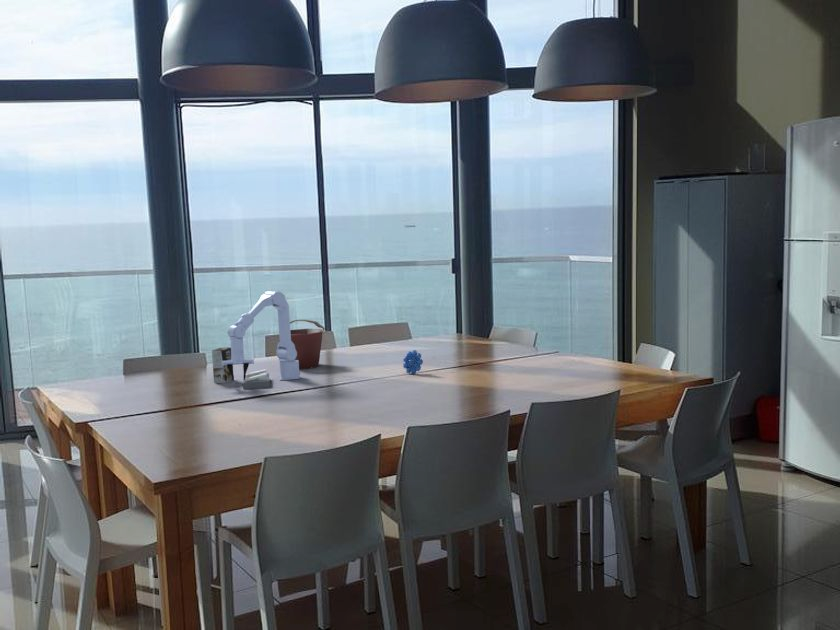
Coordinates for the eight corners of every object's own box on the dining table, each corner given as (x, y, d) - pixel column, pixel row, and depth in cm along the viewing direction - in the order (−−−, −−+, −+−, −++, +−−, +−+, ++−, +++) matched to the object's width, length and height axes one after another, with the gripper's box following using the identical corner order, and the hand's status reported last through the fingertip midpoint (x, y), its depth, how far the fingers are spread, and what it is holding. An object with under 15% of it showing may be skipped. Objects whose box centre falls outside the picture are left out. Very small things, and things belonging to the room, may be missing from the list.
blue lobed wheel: (428, 373, 408) (427, 349, 406) (420, 376, 402) (419, 351, 401) (408, 371, 414) (407, 347, 413) (400, 374, 409) (399, 349, 408)
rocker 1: (266, 371, 404) (266, 368, 404) (266, 372, 401) (266, 369, 401) (246, 376, 403) (245, 373, 403) (246, 377, 400) (245, 374, 400)
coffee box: (225, 383, 402) (223, 350, 400) (213, 383, 404) (211, 350, 402) (233, 379, 411) (231, 347, 409) (221, 379, 413) (219, 347, 411)
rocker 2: (266, 375, 394) (266, 372, 393) (266, 376, 391) (266, 373, 390) (245, 380, 392) (245, 378, 392) (245, 382, 389) (245, 379, 389)
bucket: (334, 364, 443) (332, 317, 440) (307, 371, 424) (305, 323, 421) (299, 361, 456) (296, 316, 453) (271, 368, 437) (269, 321, 434)
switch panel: (269, 379, 408) (269, 372, 408) (269, 387, 388) (269, 380, 388) (244, 381, 406) (243, 374, 405) (243, 389, 386) (243, 382, 386)
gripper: (220, 353, 383) (222, 382, 385) (253, 351, 386) (254, 380, 387) (221, 350, 390) (223, 379, 391) (253, 349, 393) (254, 377, 394)
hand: (238, 379), depth 390 cm, fingers open, 5 cm apart
